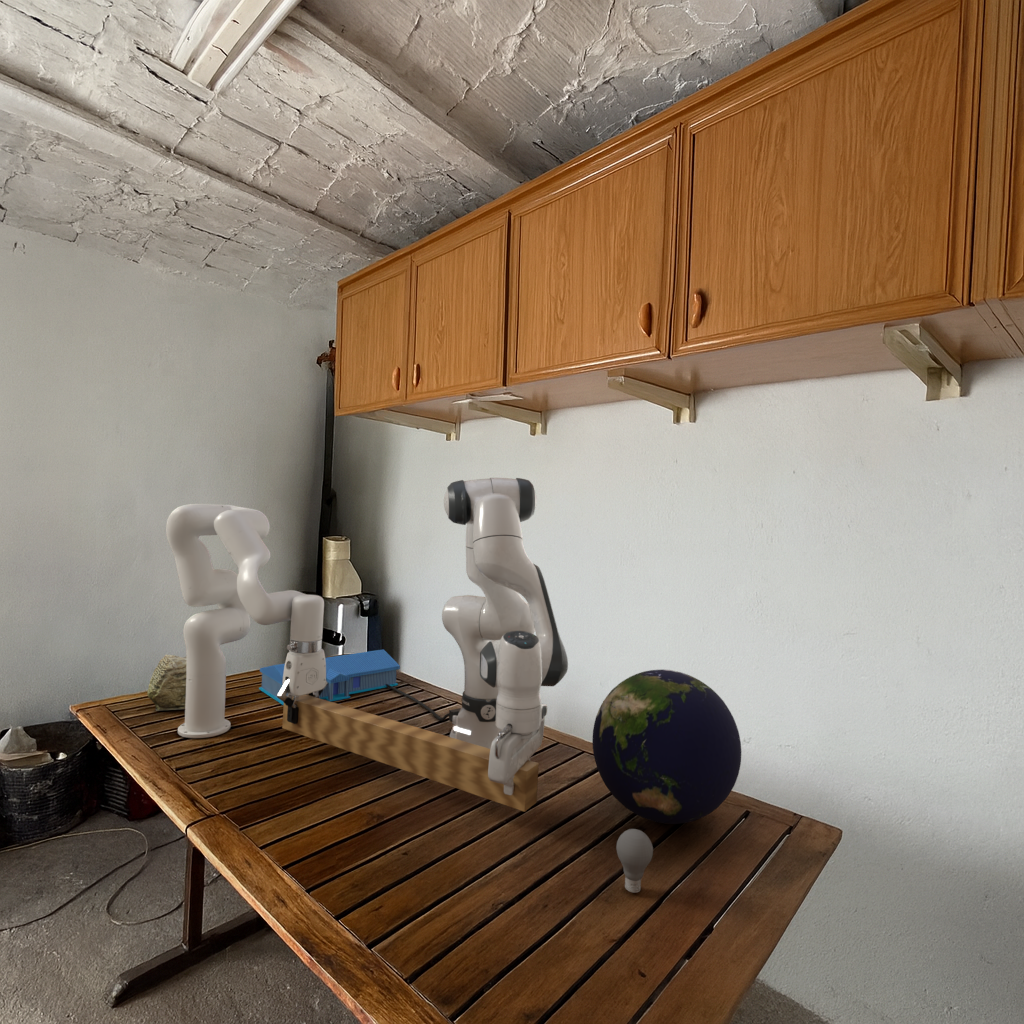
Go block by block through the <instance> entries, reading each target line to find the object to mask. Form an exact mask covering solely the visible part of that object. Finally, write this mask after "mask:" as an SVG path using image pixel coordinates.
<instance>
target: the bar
mask: <svg viewBox="0 0 1024 1024" xmlns="http://www.w3.org/2000/svg"><path fill="white" fill-rule="evenodd" d="M293 698H294V696H293V697H292V701H293ZM282 706H283V707H282V727H281V728H282V729H284V730H287V731H289V732H292V733H294V734H298V735H301V736H304V737H307V738H310V739H311V740H315V741H318V742H321V743H324V744H327V745H329V746H331V747H332V746H333V747H335V748H339V749H342V750H345V751H347V752H350V753H353V754H356V755H359V756H361V757H365V758H368V759H369V760H373V761H376V762H379V763H381V764H385V765H388V766H391V767H393V768H396V769H400V770H401V771H404V772H408V773H411V774H414V775H416V776H420V777H422V778H425V779H428V780H430V781H431V780H432V781H433V782H434V781H435V782H436V783H440V784H442V785H446V786H448V787H451V788H455V789H457V790H460V791H463V792H466V793H468V794H472V795H475V796H477V797H480V798H483V799H486V800H489V801H492V802H495V803H498V804H501V805H504V806H506V807H509V808H513V809H515V810H518V811H521V812H527V810H529V809H530V808H531V807H532V806H534V805H535V804H536V803H537V801H538V783H539V782H538V781H539V765H540V764H539V762H535V761H532V760H530V761H529V760H527V761H526V763H525V764H524V765H523V766H522V767H521V768H520V769H519V770H518V771H517V772H516V773H515V775H514V778H513V782H514V783H515V791H514V793H513V794H512V795H507V794H505V793H504V784H501V783H496V782H493V781H490V779H489V777H488V767H489V756H490V749H489V748H485V747H482V746H478V745H475V744H472V743H468V742H465V741H461V740H458V739H455V738H451V737H449V736H448V735H445V734H442V733H438V732H434V731H432V730H431V731H430V730H427V729H424V728H420V727H417V726H415V725H411V724H408V723H403V722H400V721H397V720H395V719H390V718H386V717H383V716H381V715H378V714H377V715H376V714H374V713H370V712H367V711H364V710H360V709H357V708H353V707H351V706H350V707H349V706H347V705H343V704H339V703H336V702H334V701H331V702H330V701H327V700H325V699H320V698H316V697H313V696H309V695H302V696H299V699H298V703H297V707H299V712H298V723H297V724H293V723H291V722H288V721H287V711H288V706H286V705H285V703H284V705H282Z"/></svg>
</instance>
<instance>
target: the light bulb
mask: <svg viewBox="0 0 1024 1024" xmlns="http://www.w3.org/2000/svg"><path fill="white" fill-rule="evenodd" d="M615 849H616V854H617V857H618V859H619V861H620V863H621V865H622V867H623V873H624V874H623V875H624V876H625V878H624V888H625V890H627V891H628V892H630V893H634V894H635V893H639V892H640V891H641V889H642V887H641V886H642V879H643V877H644V875H645V871H646V868H647V867H648V866H649V864H650V863H651V861H652V859H653V855H654V847H653V843H652V841H651V838H649V836H648V835H647V834H646V833H645V832H643V831H642V830H641V829H636V828H629V829H627V830H625V831H623V832H622V833H621V834H620V835H619V837H618V839H617V841H616V847H615Z"/></svg>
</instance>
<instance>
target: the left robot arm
mask: <svg viewBox="0 0 1024 1024" xmlns="http://www.w3.org/2000/svg"><path fill="white" fill-rule="evenodd" d="M270 528H271V525H270V521H269V519H268V517H267V515H266V514H265V513H264V512H262V511H261V510H259V509H254V508H249V507H243V506H238V505H233V504H223V503H222V504H221V503H189V504H183V505H180V506H178V507H176V508H174V509H173V510H172V511H171V512H170V514H169V515H168V517H167V519H166V525H165V534H166V539H167V542H168V545H169V547H170V550H171V552H172V555H173V558H174V560H175V567H176V571H177V572H176V573H177V576H178V582H179V586H180V591H181V595H182V598H183V601H184V603H185V604H186V605H187V606H189V607H192V608H200V607H207V606H208V607H209V606H213V605H217V608H214V609H209V610H204V611H199V612H197V613H195V614H192V615H191V616H190V617H188V619H186V621H185V623H184V625H183V630H182V631H183V632H182V634H183V640H184V646H185V657H187V666H186V701H185V709H184V722H182V724H180V725H179V726H178V727H177V734H178V735H179V736H180V737H182V738H188V739H207V738H212V737H216V736H220V735H222V734H224V733H227V732H228V731H230V729H231V727H232V725H231V723H232V722H231V721H230V720H228V719H226V718H225V715H226V692H227V691H226V689H227V659H226V656H225V654H224V652H223V651H222V649H221V646H222V645H224V644H229V643H232V642H233V643H234V642H237V641H240V640H243V639H245V637H246V636H247V635H248V634H249V632H250V629H251V620H253V622H256V623H257V624H259V625H261V626H270V625H274V624H279V623H283V622H289V621H290V632H289V644H287V645H286V650H287V651H288V652H287V654H286V658H285V661H284V664H285V666H284V673H283V684H282V688H281V690H280V691H279V693H278V695H277V698H279V699H280V700H282V701H283V702H284V703H285V705H286V706H288V711H287V721H288V722H291V723H293V724H297V723H298V712H299V707H297V703H298V699H299V696H302V695H306V694H308V695H309V696H313V697H316V698H319V696H320V694H321V693H322V691H323V690H324V688H325V687H326V686H327V684H328V683H327V681H326V661H325V658H326V654H325V650H324V649H323V648H322V647H323V630H324V613H325V600H324V598H323V597H322V596H321V595H318V594H306V593H303V592H301V591H299V590H294V589H287V590H281V591H280V590H279V591H274V592H267V591H266V590H265V588H264V587H263V585H262V583H261V581H260V579H259V575H258V571H260V570H261V569H262V568H263V567H264V566H265V565H266V564H267V563H268V562H269V561H270V559H271V551H270V550H269V548H268V546H267V545H266V543H265V542H264V540H263V539H265V538H266V537H267V536H268V534H269V533H270V530H271V529H270ZM200 536H201V537H203V536H217V537H218V538H219V540H220V541H221V543H222V544H223V546H224V547H225V550H226V551H227V552H228V554H229V556H230V557H231V559H232V561H233V563H234V564H235V565H236V567H237V569H238V573H237V572H235V571H234V570H232V569H229V568H214V565H213V561H212V556H211V553H210V551H209V549H208V547H207V545H205V543H204V542H203V541H202V540H201V539H200V538H199V537H200ZM287 693H288V696H286V694H287ZM293 696H294V698H293V701H292V697H293Z"/></svg>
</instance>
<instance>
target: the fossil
mask: <svg viewBox="0 0 1024 1024" xmlns="http://www.w3.org/2000/svg"><path fill="white" fill-rule="evenodd" d="M186 666H187V657H186V656H183V657H182V656H178V655H175V654H174V655H173V654H165V655H164V656H163V657H162V658H161V659H160V660H159V662H158V663H157V666H156V667H155V669H154V670H153V672H152V675H151V677H150V680H149V684H148V688H147V697H148V699H149V700H150V701H152V703H153V704H154V706H155V711H158V712H159V711H162V712H163V711H177V710H185V701H186Z"/></svg>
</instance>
